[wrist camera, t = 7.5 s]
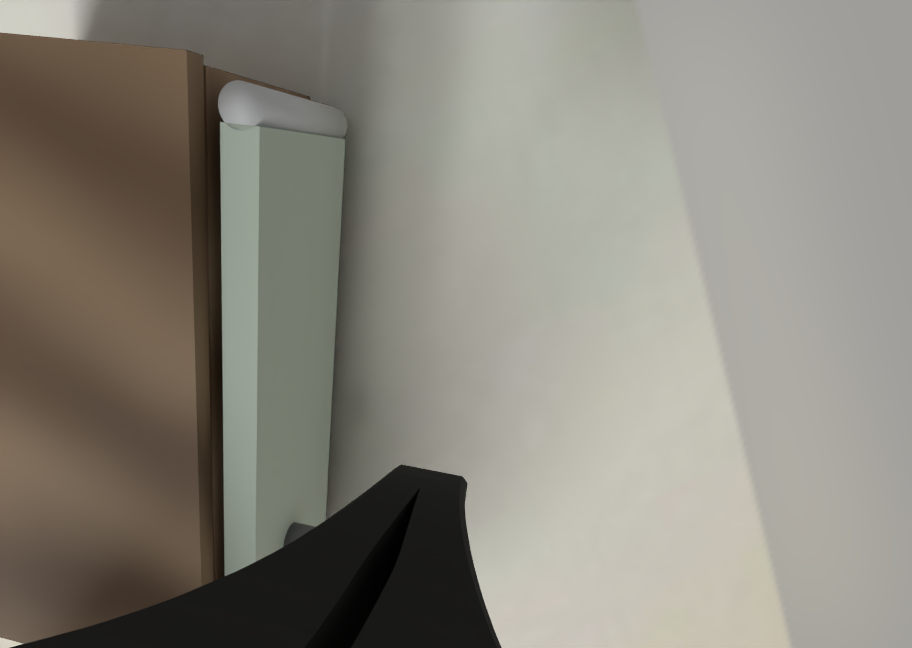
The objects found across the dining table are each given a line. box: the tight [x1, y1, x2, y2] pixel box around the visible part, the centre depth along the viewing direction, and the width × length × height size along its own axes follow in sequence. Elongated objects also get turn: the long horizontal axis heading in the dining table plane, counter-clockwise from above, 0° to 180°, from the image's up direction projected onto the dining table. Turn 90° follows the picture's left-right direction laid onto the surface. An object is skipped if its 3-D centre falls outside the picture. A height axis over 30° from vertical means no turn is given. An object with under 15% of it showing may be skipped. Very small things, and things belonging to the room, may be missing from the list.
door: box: [218, 80, 348, 576], centre depth 17 cm, size 16×2×6 cm, turn 173°
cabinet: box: [0, 33, 310, 644], centre depth 18 cm, size 18×9×6 cm, turn 173°
